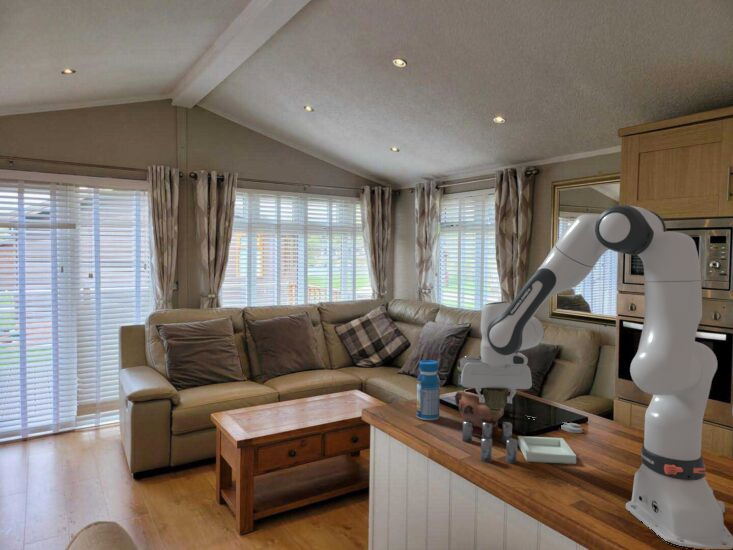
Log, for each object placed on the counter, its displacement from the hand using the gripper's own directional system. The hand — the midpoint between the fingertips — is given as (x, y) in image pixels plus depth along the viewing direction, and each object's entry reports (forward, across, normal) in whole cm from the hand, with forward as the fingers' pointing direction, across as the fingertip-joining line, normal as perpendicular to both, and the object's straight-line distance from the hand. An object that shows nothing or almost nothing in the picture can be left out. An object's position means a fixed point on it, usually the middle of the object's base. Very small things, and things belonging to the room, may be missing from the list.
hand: (495, 402), depth 148 cm
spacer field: (+15, -2, 0) cm, 15 cm away
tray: (+15, +14, 0) cm, 21 cm away
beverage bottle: (+14, -20, +28) cm, 37 cm away
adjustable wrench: (+15, +21, +28) cm, 38 cm away
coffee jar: (+14, -3, +44) cm, 46 cm away
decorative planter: (+14, -4, +16) cm, 22 cm away
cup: (+3, 0, 0) cm, 3 cm away
